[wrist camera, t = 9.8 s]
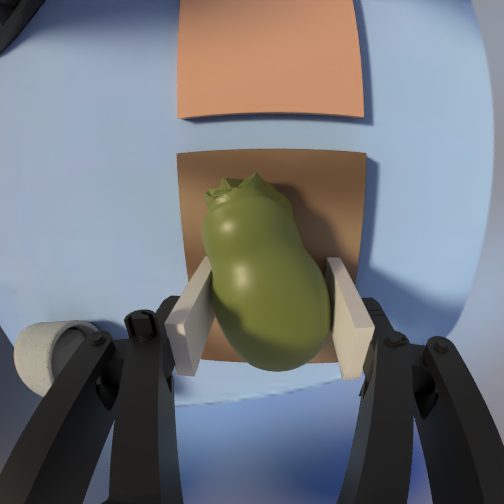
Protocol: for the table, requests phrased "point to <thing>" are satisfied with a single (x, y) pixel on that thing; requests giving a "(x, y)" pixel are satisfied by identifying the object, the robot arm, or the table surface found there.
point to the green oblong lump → (263, 276)
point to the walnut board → (303, 205)
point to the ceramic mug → (47, 351)
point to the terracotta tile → (268, 58)
